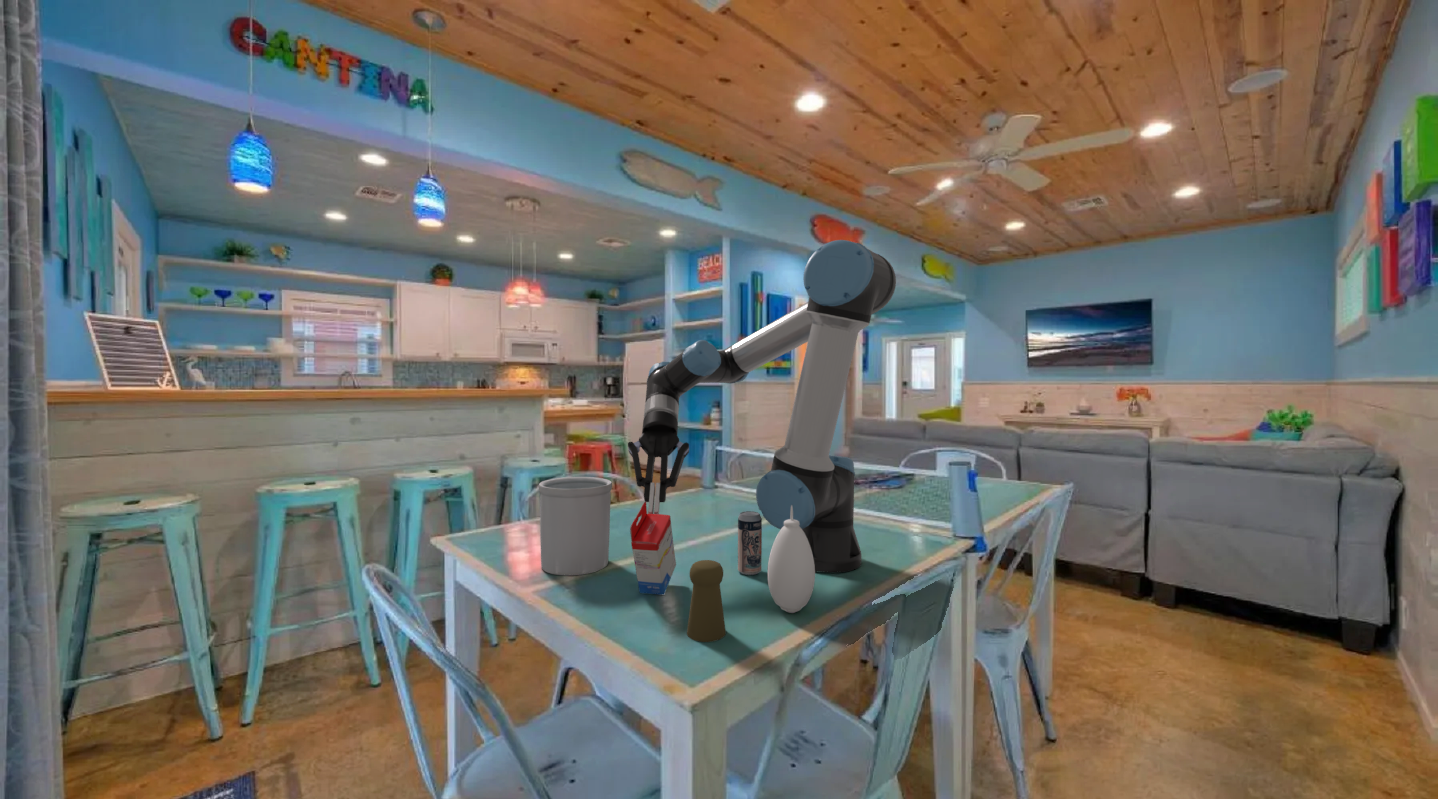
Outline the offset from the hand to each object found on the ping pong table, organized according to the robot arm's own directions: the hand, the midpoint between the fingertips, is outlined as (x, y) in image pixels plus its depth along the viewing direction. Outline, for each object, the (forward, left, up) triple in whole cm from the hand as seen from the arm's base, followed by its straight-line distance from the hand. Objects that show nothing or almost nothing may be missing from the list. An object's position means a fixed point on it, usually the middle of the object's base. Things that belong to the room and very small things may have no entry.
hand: (653, 515), depth 104 cm
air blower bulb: (-24, +13, -14) cm, 30 cm away
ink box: (-1, +1, -12) cm, 12 cm away
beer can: (-19, -6, -14) cm, 24 cm away
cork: (-10, +20, -14) cm, 26 cm away
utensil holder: (+17, -12, -14) cm, 25 cm away
